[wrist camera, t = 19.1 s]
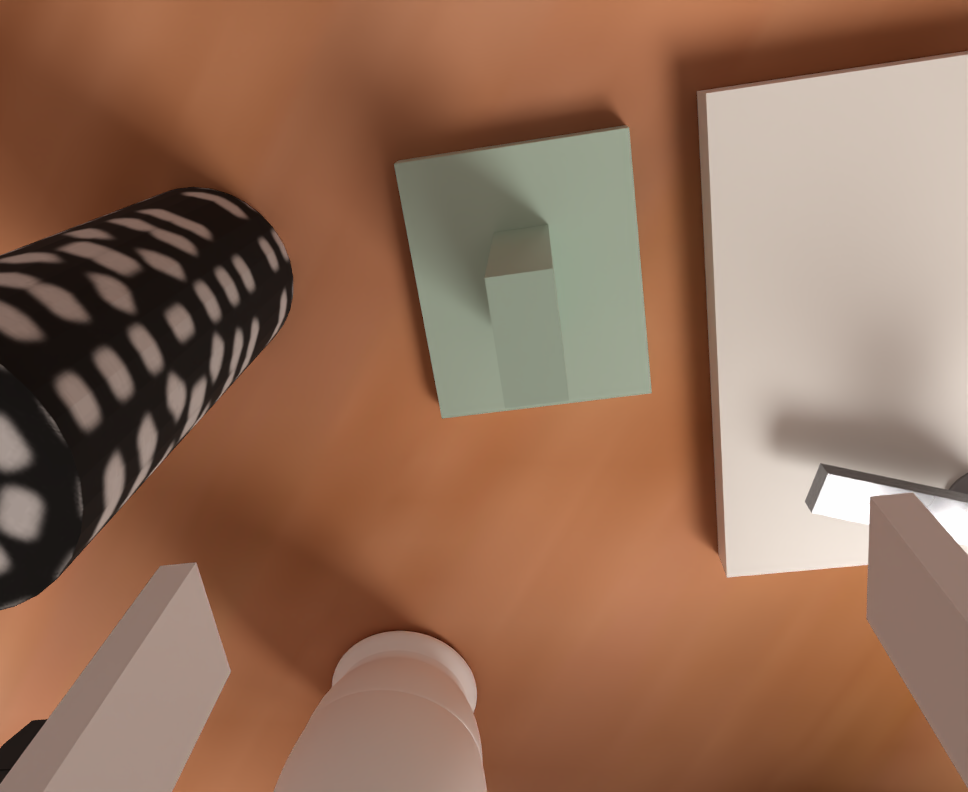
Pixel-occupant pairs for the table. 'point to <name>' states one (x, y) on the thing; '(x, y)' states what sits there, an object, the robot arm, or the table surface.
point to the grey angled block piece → (852, 490)
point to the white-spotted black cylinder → (120, 361)
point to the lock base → (833, 297)
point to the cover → (529, 271)
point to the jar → (392, 723)
